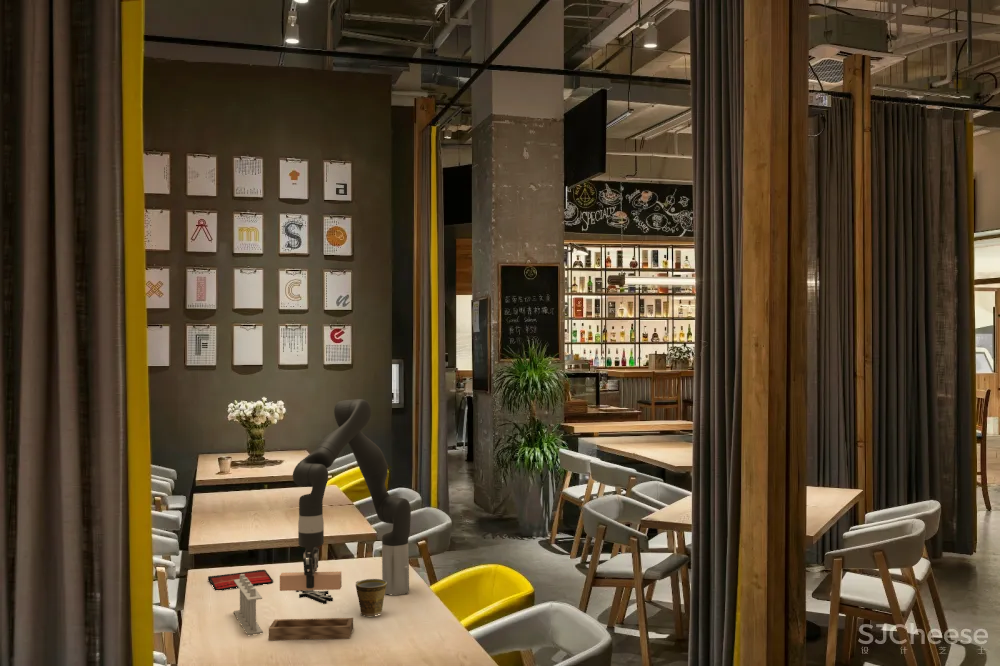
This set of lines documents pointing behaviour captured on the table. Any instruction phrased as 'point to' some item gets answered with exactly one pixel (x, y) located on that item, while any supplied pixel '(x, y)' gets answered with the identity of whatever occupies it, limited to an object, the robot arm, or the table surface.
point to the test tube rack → (247, 605)
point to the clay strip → (320, 581)
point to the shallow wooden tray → (311, 629)
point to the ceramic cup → (371, 596)
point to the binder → (228, 579)
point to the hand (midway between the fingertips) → (311, 585)
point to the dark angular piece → (316, 595)
